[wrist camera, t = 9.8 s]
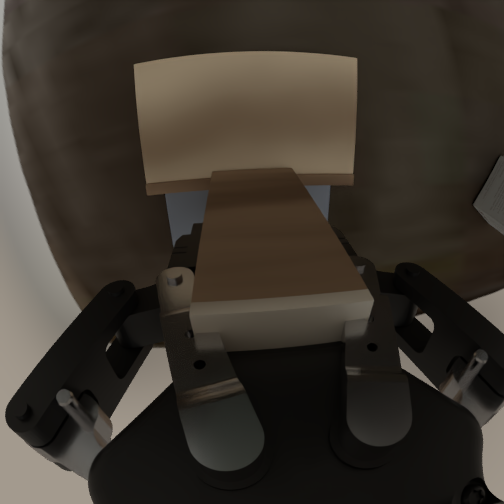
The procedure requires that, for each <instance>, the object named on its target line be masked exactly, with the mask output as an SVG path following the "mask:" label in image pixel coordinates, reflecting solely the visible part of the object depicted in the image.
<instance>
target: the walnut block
mask: <svg viewBox="0 0 504 504" xmlns="http://www.w3.org/2000/svg"><path fill="white" fill-rule="evenodd" d="M373 302H374V299H373V297H372V295H371V294H370V292H369V290H368V288H367V286H366V285H365V283H364V281H363V279H362V278H361V276H360V274H359V272H358V271H357V269H356V267H355V266H354V264H353V262H352V261H351V259H350V257H349V255H348V254H347V252H346V250H345V249H344V247H343V246H342V244H341V242H340V241H339V239H338V237H337V236H336V234H335V233H334V231H333V229H332V228H331V226H330V225H329V223H328V221H327V220H326V218H325V217H324V215H323V214H322V212H321V210H320V209H319V207H318V206H317V204H316V203H315V201H314V200H313V198H312V197H311V195H310V194H309V192H308V191H307V189H306V188H305V186H304V185H303V183H302V182H301V180H300V179H299V177H298V176H297V175H296V173H295V172H294V170H293V169H292V168H271V169H247V170H229V171H214V172H212V176H211V181H210V186H209V192H208V197H207V203H206V208H205V214H204V220H203V226H202V232H201V238H200V244H199V250H198V257H197V263H196V270H195V277H194V284H193V291H192V298H191V306H190V314H189V316H190V321H191V325H192V329H193V333H194V336H195V335H196V333H209V332H219V335H220V337H221V340H222V342H223V345H224V347H225V350H226V352H231V351H248V350H262V349H274V348H285V347H295V346H305V345H313V344H321V343H329V342H337V341H341V335H342V331H343V327H344V323H345V321H349V320H356V319H363V318H365V320H366V321H367V322H368V319H369V316H370V313H371V309H372V306H373Z"/></svg>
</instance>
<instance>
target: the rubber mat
mask: <svg viewBox="0 0 504 504" xmlns="http://www.w3.org/2000/svg"><path fill="white" fill-rule="evenodd" d="M305 188H306V189H307V191H308V192H309V194H310V195H311V197H312V198H313V200H314V201H315V203H316V204H317V206H318V207H319V209H320V210H321V212H322V214H323V215H324V217H325V218H326V220H327V221H328V210H329V197H330V185H312V186H305ZM208 192H209V190H203V191H190V192H179V193H168V194H165V197H166V204H167V210H168V217H169V223H170V229H171V235H172V241H173V246H175V242H176V240H177V239H178V238H180V237H181V236H182V235H188V234H191V230H192V226H193V223H203V220H204V214H205V208H206V203H207V197H208Z"/></svg>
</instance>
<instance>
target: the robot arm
mask: <svg viewBox="0 0 504 504" xmlns="http://www.w3.org/2000/svg"><path fill="white" fill-rule="evenodd" d="M202 226H203V223H193V226H192V230H191V234H188V235H182V236H181V237H180V238H178V239H177V240H176V242H175V246H174V249H173V252H172V255H171V259H170V262H169V265H168V269H166V270H164V271H162V272H161V273H160V274H159V275H158V276H157V278H156V284H155V285H152V286H149V287H146V288H142V289H138V290H135V286H134V285H133V283H131V282H129V281H125V280H120V281H115V282H112V283H110V284H108V285H106V286H105V287H104V288H103V289H102V290H101V291H100V292H99V293H98V294H97V295H96V296H95V297H94V298H93V300H92V301H91V302H90V303H89V304H88V305H87V306H86V307H85V308H84V310H83V311H82V312H81V313H80V314H79V315H78V316H77V318H76V319H75V320H74V321H73V322H72V323H71V325H70V326H69V327H68V328H67V329H66V330H65V331H64V333H63V334H62V335H61V336H60V337H59V339H58V340H57V341H56V342H55V343H54V345H53V346H52V347H51V348H50V349H49V351H48V352H47V353H46V354H45V356H44V357H43V358H42V359H41V361H40V362H39V363H38V364H37V366H36V367H35V368H34V370H33V371H32V372H31V373H30V375H29V376H28V377H27V379H26V380H25V381H24V383H23V384H22V385H21V387H20V388H19V389H18V391H17V392H16V393H15V395H14V396H13V397H12V399H11V400H10V402H9V403H8V405H7V408H6V412H5V413H6V414H5V417H6V422H7V424H8V426H9V427H10V428H11V429H12V430H13V431H14V432H15V433H16V434H18V435H19V436H20V437H21V438H22V439H23V440H24V441H25V442H26V443H27V444H28V445H29V446H30V447H32V448H33V449H34V450H35V451H37V452H38V453H39V454H41V455H42V456H43V457H45V458H46V459H47V460H49V461H51V462H53V463H55V464H56V465H58V466H59V467H60V468H62V469H64V470H67V471H73V472H75V473H76V474H78V475H79V476H81V477H83V478H84V479H86V480H88V488H89V492H90V496H91V498H92V501H93V503H94V504H504V502H503V501H502V500H500V499H498V498H497V497H496V496H494V495H493V494H492V493H491V492H490V491H489V489H488V488H487V486H486V484H485V481H484V477H483V467H482V451H483V435H482V430H481V427H482V426H483V425H485V424H486V423H487V422H488V421H489V420H490V419H491V418H492V417H493V416H494V415H495V414H496V413H497V412H498V411H499V410H500V409H501V408H502V407H503V406H504V334H503V333H502V332H501V331H500V330H499V329H497V328H496V327H495V326H494V325H493V324H492V323H491V322H489V321H488V320H487V319H486V318H485V317H484V316H482V315H481V314H480V313H479V312H478V311H477V310H475V309H474V308H473V307H472V306H471V305H469V304H468V303H467V302H466V301H465V300H463V299H462V298H461V297H460V296H458V295H457V294H456V293H455V292H453V291H452V290H451V289H450V288H448V287H447V286H446V285H445V284H443V283H442V282H441V281H439V280H438V279H437V278H435V277H434V276H433V275H432V274H430V273H429V272H428V271H426V270H425V269H424V268H422V267H421V266H419V265H416V264H413V263H400V264H398V265H397V266H396V269H395V272H394V273H388V272H381V271H376V268H375V265H374V264H373V263H372V262H371V261H370V260H368V259H366V258H363V257H360V256H357V254H356V253H355V251H354V250H353V248H352V247H351V245H350V244H349V242H348V241H347V239H345V236H344V235H343V234H342V232H341V231H339V230H338V229H336V228H335V227H331V228H332V229H333V231H334V233H335V234H336V236H337V237H338V239H339V241H340V242H341V244H342V246H343V247H344V249H345V250H346V252H347V254H348V255H349V257H350V259H351V261H352V262H353V264H354V266H355V267H356V269H357V271H358V272H359V274H360V276H361V278H362V279H363V281H364V283H365V285H366V286H367V288H368V290H369V292H370V294H371V295H372V297H373V299H374V302H373V306H372V309H371V313H370V316H369V319H368V322H367V321H366V320H365V318H363V319H356V320H349V321H345V323H344V327H343V331H342V335H341V341H337V342H329V343H321V344H313V345H305V346H295V347H285V348H274V349H262V350H248V351H231V352H226V350H225V347H224V345H223V342H222V340H221V337H220V335H219V332H209V333H196V335H195V336H194V333H193V329H192V325H191V321H190V316H189V314H190V306H191V298H192V291H193V284H194V277H195V270H196V263H197V257H198V250H199V244H200V238H201V232H202ZM418 307H419V308H420V309H421V310H422V311H423V312H425V313H426V314H427V315H428V316H429V317H430V318H431V319H432V321H433V323H434V331H433V333H431V332H430V331H429V330H428V329H427V328H426V327H425V326H424V325H423V324H422V323H420V322H419V321H418V320H417V319H416V318H415V317H414V316H415V313H416V311H417V308H418ZM114 335H116V339H115V340H114V341H113V343H112V344H111V346H110V347H109V349H108V350H107V351H106V347H107V345H108V343H109V342H110V340H111V339H112V338H113V336H114ZM162 341H164V342H165V347H166V352H167V357H168V362H169V367H170V371H171V376H172V380H173V382H172V383H171V384H170V385H169V386H168V387H167V388H166V389H165V390H164V391H163V392H162V393H161V394H160V395H159V396H158V397H157V398H156V399H155V400H154V401H153V402H152V403H151V404H150V405H149V406H148V407H147V408H146V409H145V410H144V411H143V412H141V414H139V415H138V416H137V417H136V418H135V419H134V420H133V421H132V422H131V423H130V424H129V425H128V426H127V427H126V428H124V429H123V430H122V431H121V432H120V433H119V434H118V435H117V436H116V437H115V438H114V439H113V440H112V441H111V435H112V423H111V420H110V417H111V416H112V414H113V412H114V410H115V409H116V407H117V405H118V404H119V402H120V400H121V399H122V397H123V395H124V393H125V392H126V390H127V388H128V387H129V385H130V383H131V382H132V380H133V378H134V377H135V375H136V373H137V372H138V370H139V368H140V367H141V365H142V364H143V362H144V360H145V359H146V357H147V355H148V354H149V352H150V350H151V349H152V347H153V344H154V343H158V342H162ZM398 347H399V348H400V349H401V350H402V351H403V352H404V353H405V354H406V355H407V356H408V357H409V358H410V360H411V361H412V362H413V363H414V364H415V365H416V366H417V367H418V368H419V369H420V370H421V371H422V372H423V373H424V375H425V376H426V377H427V378H428V379H429V380H430V381H431V382H432V383H433V384H434V385H435V387H436V388H437V389H438V390H439V391H438V390H436V389H435V388H433V387H431V386H429V385H428V384H427V383H425V382H423V381H421V380H420V379H418V378H417V377H415V376H414V375H412V374H410V373H409V372H407V371H406V370H404V369H402V368H401V363H400V356H399V350H398Z"/></svg>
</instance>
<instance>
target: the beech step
mask: <svg viewBox="0 0 504 504" xmlns="http://www.w3.org/2000/svg"><path fill="white" fill-rule="evenodd" d="M134 76H135V90H136V102H137V113H138V123H139V132H140V141H141V149H142V156H143V164H144V171H145V177H146V191H147V196H148V195H158V194H168V193H179V192H190V191H203V190H209V186H210V181H211V176H212V172H214V171H229V170H247V169H271V168H292V169H293V170H294V172H295V173H296V175H297V176H298V177H299V179H300V180H301V182H302V183H303V185H304V186H312V185H353V183H354V174H353V166H354V153H355V136H356V114H357V58H352V57H345V56H337V55H328V54H317V53H303V52H280V51H247V52H224V53H210V54H199V55H190V56H181V57H174V58H167V59H161V60H155V61H149V62H144V63H138V64H134Z"/></svg>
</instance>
